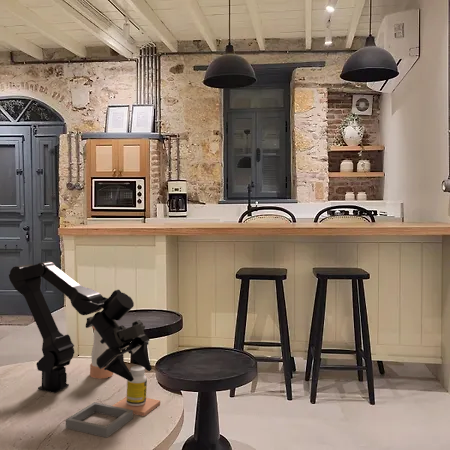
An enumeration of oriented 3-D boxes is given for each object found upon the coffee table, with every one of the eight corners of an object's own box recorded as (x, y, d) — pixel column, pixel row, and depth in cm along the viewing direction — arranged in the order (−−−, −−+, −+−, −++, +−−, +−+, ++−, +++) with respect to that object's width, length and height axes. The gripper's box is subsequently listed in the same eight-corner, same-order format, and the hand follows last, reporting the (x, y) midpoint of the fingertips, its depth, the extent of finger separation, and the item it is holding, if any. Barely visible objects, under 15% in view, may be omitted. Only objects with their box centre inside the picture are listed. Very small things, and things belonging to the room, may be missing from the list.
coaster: (111, 409, 143) (112, 405, 142) (129, 397, 151) (129, 394, 151) (144, 416, 139) (144, 412, 139) (160, 404, 147) (160, 400, 147)
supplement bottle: (147, 406, 143) (148, 371, 143) (126, 407, 142) (128, 371, 141) (145, 398, 148) (146, 364, 148) (125, 399, 147) (126, 365, 146)
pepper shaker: (95, 370, 173) (96, 312, 172) (116, 372, 172) (117, 314, 171) (86, 377, 166) (87, 317, 165) (108, 379, 165) (109, 319, 164)
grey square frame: (65, 427, 130) (65, 419, 130) (94, 410, 142) (94, 402, 142) (106, 437, 126) (106, 428, 126) (132, 418, 137) (132, 410, 137)
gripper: (106, 319, 136) (141, 368, 133) (144, 306, 154) (176, 349, 150) (81, 345, 140) (115, 393, 136) (121, 329, 157) (152, 371, 153)
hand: (141, 375), depth 144 cm, fingers open, 9 cm apart
